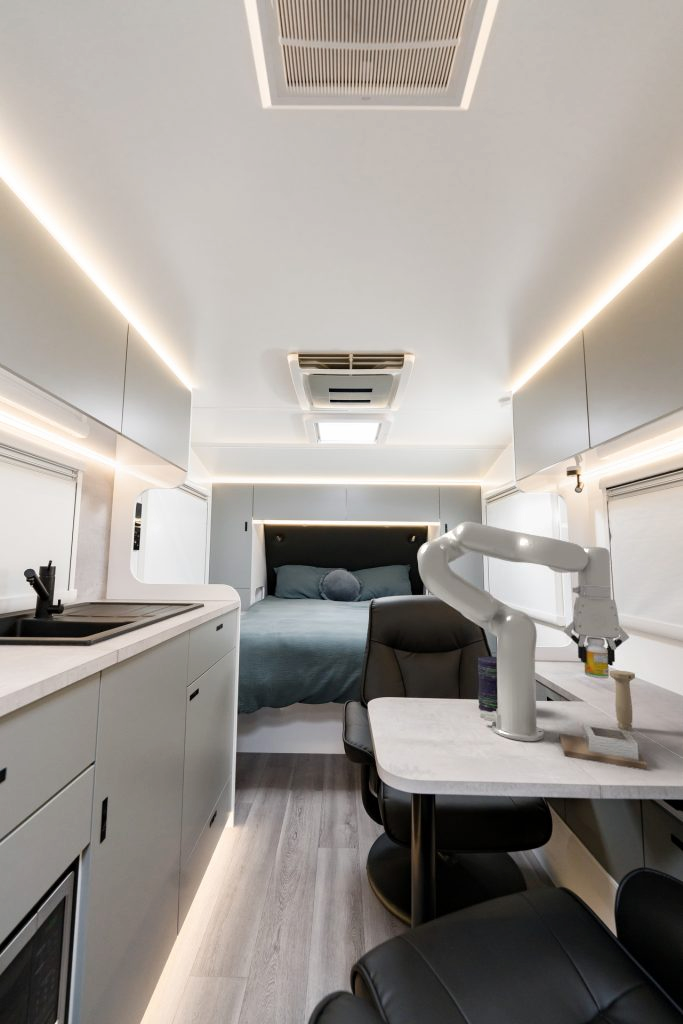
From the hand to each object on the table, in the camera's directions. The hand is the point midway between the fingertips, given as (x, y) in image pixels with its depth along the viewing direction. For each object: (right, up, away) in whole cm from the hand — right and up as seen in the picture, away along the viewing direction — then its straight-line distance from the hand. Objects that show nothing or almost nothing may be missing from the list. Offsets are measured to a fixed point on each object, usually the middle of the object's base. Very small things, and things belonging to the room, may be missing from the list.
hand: (596, 662), depth 112 cm
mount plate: (-6, -18, -11) cm, 22 cm away
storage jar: (-20, -22, +19) cm, 35 cm away
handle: (+12, -21, +6) cm, 25 cm away
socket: (-4, -16, -12) cm, 20 cm away
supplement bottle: (0, -4, 0) cm, 4 cm away
